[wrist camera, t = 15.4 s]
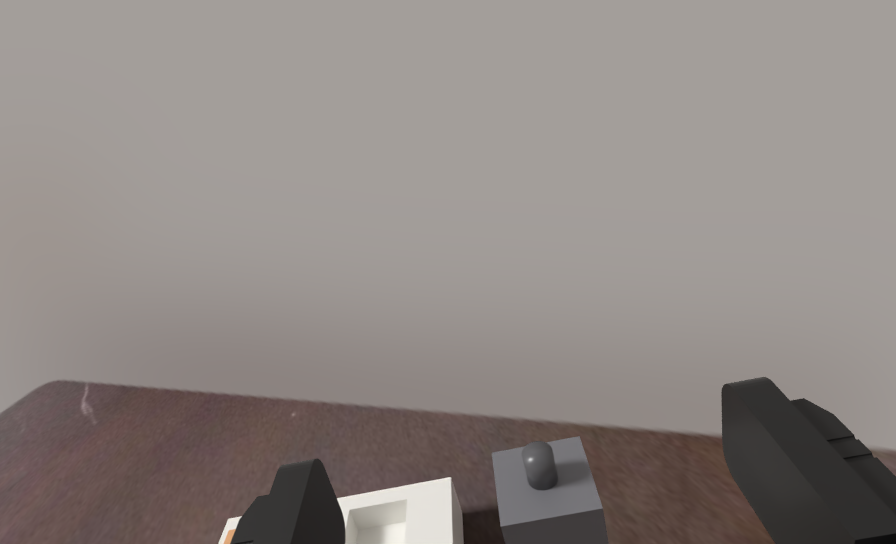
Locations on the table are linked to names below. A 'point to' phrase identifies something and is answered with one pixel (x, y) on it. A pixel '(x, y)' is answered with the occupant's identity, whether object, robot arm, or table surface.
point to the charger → (548, 495)
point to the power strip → (397, 516)
